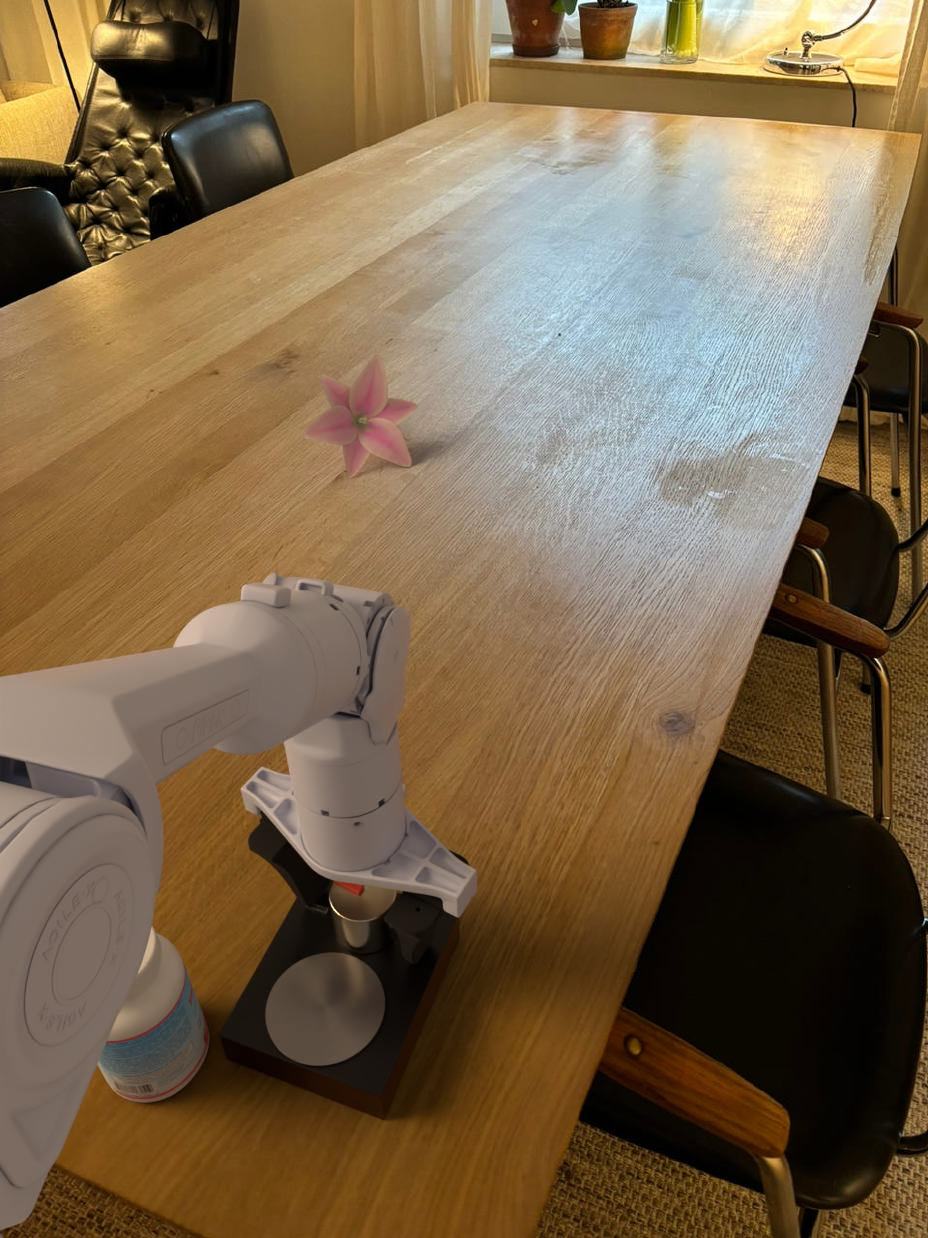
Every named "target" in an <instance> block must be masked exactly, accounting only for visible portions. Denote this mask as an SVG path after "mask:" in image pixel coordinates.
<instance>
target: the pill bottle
mask: <svg viewBox="0 0 928 1238" xmlns="http://www.w3.org/2000/svg"><path fill="white" fill-rule="evenodd" d="M209 1046H210V1030H209V1025H208V1023H207V1019H206V1017H205V1015H204V1012H203V1009H202V1007H201V1004H200V1002H199V999H198V996H197V995H196V991H195V989H194V987H193V984H192V982H191V979H190V976H189V974H188V971H187V968H186V966H185V964H184V960H183V959H182V956H181V954H180V952H179V950H178V949H177V948H176V946H175V945H174V943H172V941H170V940H169V939H167V938H166V937H165V936H164V935H161V934H159V933H158V932H156V930H155V928H154V926H153V925H152V927H151V932H150V936H149V940H148V944H147V948H146V951H145V954H144V957H143V960H142V963H141V966H140V969H139V971H138V974H137V977H136V979H135V981H134V984H133V986H132V988H131V990H130V993H129V995H128V997H127V999H126V1001H125V1003H124V1005H123V1007H122V1008H121V1010H120V1012H119V1014H118V1016H117V1018H116V1020H115V1023H114V1025H113V1028H112V1030H111V1033H110V1035H109V1037H108V1040H107V1042H106V1045H105V1047H104V1049H103V1052H102V1054H101V1057H100V1059H99V1062H98V1064H97V1067H98V1069H99V1070H100V1072H101V1074H102V1076H103V1078H104V1079H105V1081H106V1083H107V1084H108V1086H109V1087H110V1089H112V1091H113V1092H114V1093H116V1095H118V1096H120V1097H121V1098H123V1099H125V1100H127V1101H131V1102H134V1103H135V1102H136V1103H143V1104H144V1103H153V1102H160V1101H162V1100H165V1099H167V1098H170V1097H172V1096H173V1095H175V1094H177V1093H178V1092H179V1091H181V1090H182V1089H183V1088H185V1087H186V1086H187V1085H188V1084H189V1083H190V1082H191V1081H192V1079H193V1078H194V1077H195V1076H196V1074H197V1073H198V1072H199V1070H200V1069H201V1066H202V1065H203V1063H204V1061H205V1059H206V1057H207V1054H208V1050H209V1048H210V1047H209Z"/></svg>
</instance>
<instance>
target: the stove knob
mask: <svg viewBox="0 0 928 1238" xmlns="http://www.w3.org/2000/svg"><path fill="white" fill-rule="evenodd" d="M397 892H398V890H393V889H386V888H379V887H373V886H366V885H359V884H353V883H346V882H340V881H335V880H333V882H332V884H331V886H330V889H329V903H330V909H331V914H332V920H333V926H334V931H335V935H336V937H337V939H338V941H339V942H340V943H341V945H343V946H344V947H345V948H346V949H348V950H350V951H352V952H356V953H362V954H367V953H373V952H377V951H379V950H381V949H383V948H385V947H386V946H387V945H389V944H390V943H391V942H392V940H393V939H394V938H395V936H396V935H397V932H396V930H395V929H394V928H393V926H392V925H390V924H388V923H386V922H385V921H384V917H385V915H386V914H387V912H388V911H389V910H390V908H391V907H392V906H393V904H394V903H395V901H396V900H397Z"/></svg>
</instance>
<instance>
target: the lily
mask: <svg viewBox="0 0 928 1238" xmlns="http://www.w3.org/2000/svg"><path fill="white" fill-rule="evenodd" d="M318 380H319V384H320V386H321V389H322V391H323V393H324V395H325V398H326V401H327V402H328V404H329V406H330V407H329V408H328V409H326V410H325V411H324V412H322V413H321V414H319V415H318V416H317V417H316V418H315V419H313V420H312V421H311V422H310V423H309V424H308V425H307V426H305V428H303V430H302V431H301V433H300V437H301V438H303V439H304V440H307V441H310V442H317V443H321V444H322V443H323V444H328V445H335V446H342V455H343V461H344V465H345V471H346V475H347V477H348V478H349V479H352V478H354V477H355V476H356V474H357V473H358V472H359V471H360V470H361V469H362V467H363V466H364V464H365V463H366V461H367V460H368V458H369V457H370V455H371V454H372V455H374V456H376V457H378V458H380V459H383V460H385V461H388V462H390V463H393V464H394V465H395V464H396V465H397V466H400V467H404V468H411V467H412V464H413V462H412V457H411V455H410V454H411V453H410V451H409V448H408V446H407V444H406V441H405V439H404V437H403V434H402V432H401V431H400V429H399V428H398V425H400V424H401V423H402V422H404V421H405V420H406V419H408V418H409V417H410V416H411V415H412V414H413V413H414V412H415V411H416V410H417V408H418V406H419V405H418V404H417V402H413V401H411V400H405V399H401V398H392V397H389V384H388V378H387V372H386V368H385V362H384V360H383V357H382V356H381V355H380V354H374V356H373V357H371V358H370V359H369V361H368V362H367V363H366V364H365V366H364V367H363V368H362V370H361V371H360V373H359V374H358V375H357V377H356V378H355V380H354V381H353V383H352V385H351V386H350V385H348V384H347V383H345V382H343V381H341V380H338V379H336V378H334V377H331V376H328V375H325V374H318Z"/></svg>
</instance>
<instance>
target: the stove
mask: <svg viewBox="0 0 928 1238" xmlns="http://www.w3.org/2000/svg"><path fill="white" fill-rule="evenodd" d="M332 882H333V880H331V879H330V884H329V886H328V887H327V888H326V889H325V891H324V892H323V893H322V895H321V896H320V897H319V898H318V900H317V901H316V902H315V903H314V905H313V906H312V907H311V908H309V907H307V906H305V905H303V904H302V903H301V902H300V901H299V900H298V898H297V897H296V898H295V900H294V901H293V903H292V905H291V907H290V908H289V910H288V912H287V913H286V915H285V917H284V919H283V921H282V922H281V925H279V928H278V929H277V932H276V933H275V934H274V937H273V938H272V939H271V942H270V944H269V945H268V946H267V949H266V950H265V953H264V955H263V956H262V957H261V960H260V961H259V963H258V964H257V966H256V968H255V970H254V972H253V974H251V977H250V978H249V981H248V982H247V984H246V986H244V987H245V988H244V989H243V991H242V993H241V995H240V996H239V998H238V999H237V1002H236V1003H235V1005H234V1007H233V1008H232V1010H231V1012H230V1014H229V1015H228V1016H227V1019H226V1021H225V1023H224V1024H223V1025H222V1027H221V1029H220V1031H219V1032H218V1034H217V1035H218V1038H219V1042H220V1044H221V1047H222V1049H223V1052H224V1055H225V1058H226V1060H227V1061H229V1062H232V1063H235V1064H237V1065H239V1066H242V1067H245V1068H247V1069H250V1070H253V1071H255V1072H257V1073H261V1074H263V1075H265V1076H267V1077H271V1078H273V1079H276V1080H279V1081H281V1082H283V1083H287V1084H288V1085H291V1086H294V1087H296V1088H299V1089H302V1090H304V1091H307V1092H310V1093H311V1094H315V1095H317V1096H319V1097H322V1098H325V1099H327V1100H330V1101H332V1102H335V1103H338V1104H339V1105H340V1104H341V1105H342V1106H346V1107H348V1108H351V1109H354V1110H356V1111H359V1112H361V1113H364V1114H366V1115H369V1116H372V1117H373V1118H377V1119H379V1120H382V1121H385V1120H386V1118H387V1115H388V1113H389V1110H390V1108H391V1106H392V1103H393V1101H394V1098H395V1096H396V1094H397V1091H398V1089H399V1086H400V1084H401V1082H402V1079H403V1077H404V1074H405V1071H406V1070H407V1067H408V1064H409V1062H410V1060H411V1058H412V1055H413V1053H414V1050H415V1048H416V1045H417V1043H418V1041H419V1038H420V1036H421V1033H422V1031H423V1028H424V1026H425V1024H426V1021H427V1018H428V1017H429V1014H430V1011H431V1008H432V1007H433V1004H434V1002H435V999H436V997H437V994H438V992H439V990H440V987H441V984H442V982H443V980H444V978H445V976H446V973H447V970H448V967H449V966H450V963H451V960H452V958H453V956H454V953H455V951H456V948H457V946H458V944H459V941H460V939H461V938H460V935H461V934H460V933H461V932H460V917H459V918H458V917H455V916H454V915H452V914H450V913H448V912H446V911H444V912H443V914H442V915H441V917H440V918H439V920H438V923H437V925H436V929H435V932H434V936H433V941H432V942H431V944H430V945H429V947H428V948H427V950H426V951H425V953H424V954H423V956H422V957H421V959H420V960H419V962H418V963H417V964H412V963H410V962H409V961H407V960H405V958H404V957H403V955H402V950H401V943H400V938H399V936H398V933H397V935H396V936H395V938H394V939H393V940H392V942H391V943H390V944H389V945H387V946H386V947H385V948H383V949H381V950H379V951H377V952H373V953H367V954H362V953H356V952H352V951H350V950H348V949H346V948H345V947H344V946H343V945H341V943H340V942H339V941H338V939H337V937H336V935H335V931H334V926H333V920H332V914H331V909H330V903H329V889H330V886H331V884H332ZM401 893H402V892H401ZM401 893H400V892H398V891H397V899H398V897H399V896H400V895H401ZM321 953H342V954H347V955H350V956H353V957H355V958H358V959H359V960H361V961H363V962H364V963H365V964H367V965H368V966H369V967H370V968H371V969H372V970H373V971H374V972H375V974H376V975H377V976H378V978H379V980H380V982H381V985H382V987H383V991H384V996H385V1012H384V1017H383V1021H382V1024H381V1026H380V1029H379V1030H378V1032H377V1034H376V1036H375V1037H374V1039H373V1040H372V1041H371V1043H370V1044H369V1045H368V1046H367V1047H366V1048H365V1049H364V1050H363V1051H361V1052H360V1053H359V1054H357V1055H356V1056H354V1057H353V1058H351V1059H349V1060H347V1061H345V1062H342V1063H340V1064H337V1065H332V1066H327V1067H311V1066H305V1065H302V1064H298V1063H296V1062H294V1061H292V1060H290V1059H289V1058H287V1057H286V1056H284V1055H283V1054H282V1053H281V1052H280V1051H279V1050H278V1049H277V1048H276V1047H275V1045H274V1044H273V1042H272V1040H271V1038H270V1036H269V1033H268V1030H267V1026H266V1019H265V1012H266V1005H267V1000H268V997H269V994H270V992H271V990H272V988H273V986H274V985H275V983H276V982H277V980H278V979H279V978H280V977H281V975H282V974H283V973H284V972H285V971H286V970H287V969H289V968H290V967H291V966H292V965H294V964H295V963H297V962H299V961H300V960H303V959H305V958H307V957H310V956H313V955H316V954H321Z"/></svg>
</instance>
